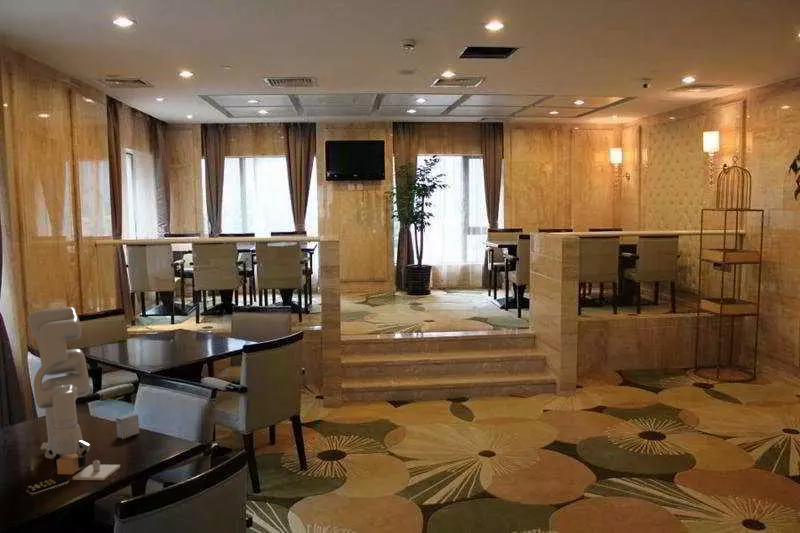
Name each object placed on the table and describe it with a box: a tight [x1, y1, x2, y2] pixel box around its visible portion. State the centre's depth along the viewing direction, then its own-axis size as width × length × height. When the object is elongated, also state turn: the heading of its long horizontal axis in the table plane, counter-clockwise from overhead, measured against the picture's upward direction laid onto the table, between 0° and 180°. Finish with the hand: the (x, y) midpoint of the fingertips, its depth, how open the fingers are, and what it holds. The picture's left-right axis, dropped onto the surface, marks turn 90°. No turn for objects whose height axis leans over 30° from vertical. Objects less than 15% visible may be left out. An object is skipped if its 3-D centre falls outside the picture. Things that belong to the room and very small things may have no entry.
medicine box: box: [115, 412, 140, 440], centre depth 269 cm, size 8×4×9 cm, turn 144°
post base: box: [72, 459, 121, 481], centre depth 230 cm, size 12×11×5 cm
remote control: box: [26, 475, 70, 495], centre depth 221 cm, size 6×13×2 cm, turn 140°
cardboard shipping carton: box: [56, 454, 84, 475], centre depth 233 cm, size 6×6×6 cm
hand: (70, 466), depth 233 cm, fingers open, 9 cm apart
